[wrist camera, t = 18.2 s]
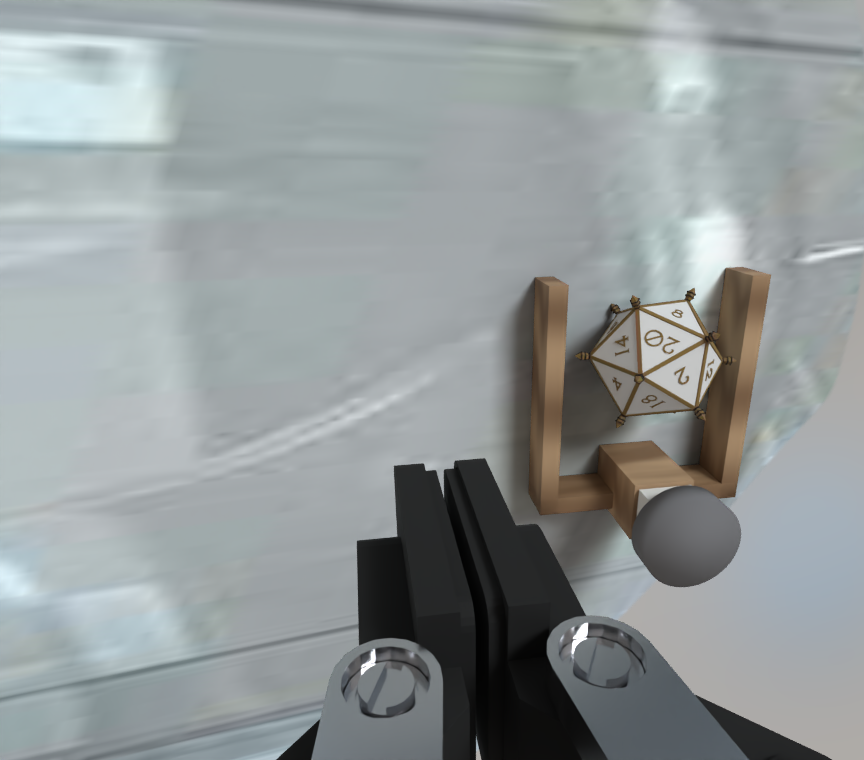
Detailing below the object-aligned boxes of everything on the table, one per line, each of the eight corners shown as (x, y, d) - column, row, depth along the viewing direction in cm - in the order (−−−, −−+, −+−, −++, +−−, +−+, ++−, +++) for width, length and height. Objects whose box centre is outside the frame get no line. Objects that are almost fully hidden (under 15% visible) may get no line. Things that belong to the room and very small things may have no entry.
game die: (582, 338, 46) (533, 375, 38) (665, 250, 41) (629, 271, 33) (674, 423, 44) (643, 482, 36) (771, 341, 40) (761, 387, 31)
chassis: (535, 277, 40) (576, 303, 33) (742, 267, 42) (826, 289, 34) (528, 499, 46) (562, 563, 38) (711, 482, 47) (777, 541, 40)
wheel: (622, 473, 39) (649, 505, 35) (711, 466, 39) (747, 496, 36) (614, 554, 41) (640, 592, 37) (700, 545, 41) (733, 581, 38)
